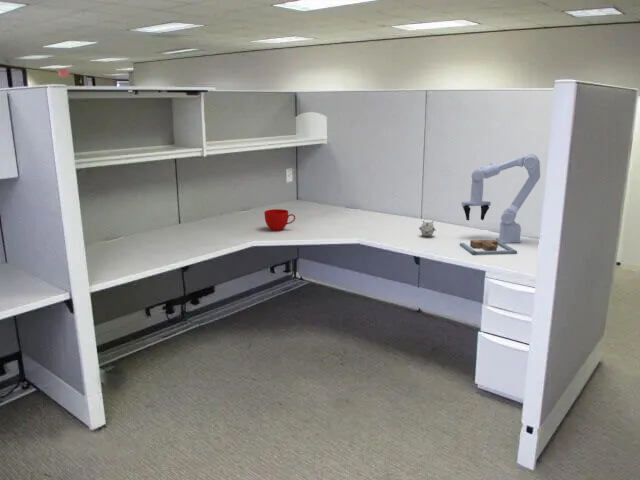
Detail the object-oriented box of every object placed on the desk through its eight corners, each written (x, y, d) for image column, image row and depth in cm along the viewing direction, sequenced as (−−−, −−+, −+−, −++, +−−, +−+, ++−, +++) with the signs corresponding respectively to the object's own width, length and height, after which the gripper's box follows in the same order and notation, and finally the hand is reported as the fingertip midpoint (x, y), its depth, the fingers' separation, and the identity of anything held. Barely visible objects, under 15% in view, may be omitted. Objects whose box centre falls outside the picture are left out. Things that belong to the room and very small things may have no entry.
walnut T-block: (493, 245, 264) (494, 239, 263) (504, 252, 252) (505, 246, 251) (470, 246, 262) (470, 240, 262) (479, 253, 251) (480, 246, 250)
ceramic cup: (292, 233, 288) (292, 214, 285) (261, 231, 291) (261, 213, 288) (298, 227, 300) (298, 210, 297) (268, 226, 303) (268, 208, 301)
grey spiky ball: (429, 242, 283) (440, 227, 283) (428, 240, 275) (440, 224, 274) (415, 233, 286) (426, 217, 285) (413, 230, 277) (425, 214, 277)
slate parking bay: (501, 244, 266) (501, 241, 266) (516, 253, 249) (517, 251, 249) (459, 245, 264) (459, 243, 263) (472, 255, 247) (472, 252, 247)
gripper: (487, 191, 277) (485, 217, 281) (460, 192, 276) (458, 218, 279) (493, 194, 271) (491, 220, 274) (465, 194, 269) (463, 221, 272)
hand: (474, 219), depth 276 cm, fingers open, 7 cm apart
